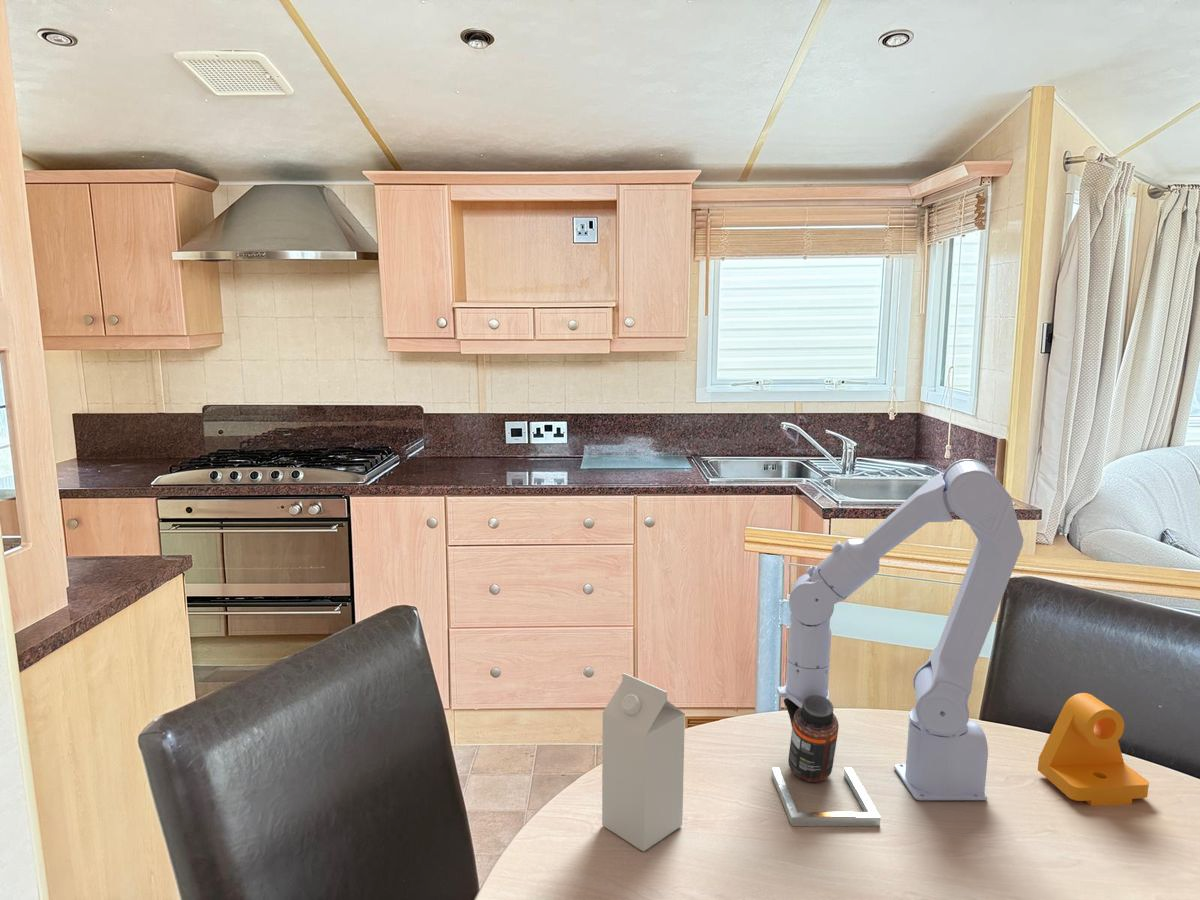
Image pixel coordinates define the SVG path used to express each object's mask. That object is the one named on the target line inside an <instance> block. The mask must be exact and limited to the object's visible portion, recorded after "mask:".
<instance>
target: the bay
mask: <svg viewBox="0 0 1200 900" xmlns="http://www.w3.org/2000/svg"><path fill="white" fill-rule="evenodd" d="M843 777H844V779H845V780H846V782H847V784H848V786H849V787H850V789H851V791H852V793H853V794H854V796H855V798H856V801H857V802H858V804H859V805H860V807H861V809H862V811H863V812H862V811H861V812H857V811H856V812H855V811H813V812H811V811H810V812H808V811H807V812H806V811H804V812H798V809H797V806H796V805H795V802H794V800H793V797H792V795H791V793H790V790H789V788H788V785H787V784H786V780H785V778H784V776H783V774H782V772H781V769H780V767H771V778H772V781H773V783H774V785H775V788H776V791H777V792H778V796H779V798H780V801H781V803H782V806H783V809H784V811H785V813H786V816H787V818H788V821H789V824H790V825H791V827H880V826H881V815H880V814H879V812H878V811H877V809H876V807H875V805H874V804H873V802H872V800H871V798H870V796H869V795H868V794H867V791H866V789H865V787H864V786H863V785H862V783H861V782H860V780H859V777H858V776H857V775H856V772H855V771H854V769H853V768H852V767H844V771H843Z"/></svg>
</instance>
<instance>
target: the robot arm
mask: <svg viewBox="0 0 1200 900" xmlns="http://www.w3.org/2000/svg"><path fill="white" fill-rule="evenodd" d="M951 513H954V514H955V515H957V516H958V517H959V518H960V519H961V520H962V521H964V522H965V523H966V524H967V525H968V526H969V527H970V529H971V531H972V532H973V534H974V535H975V537H976V539H977V542H976V544H975V546H974V550H973V552H972V555H971V558H970V560H969V563H968V565H967V568H966V570H965V573H964V576H963V578H962V581H961V583H960V587H959V589H958V592H957V594H956V597H955V599H954V601H953V605H952V607H951V609H950V611H949V615H948V617H947V621H946V623H945V626H944V628H943V630H942V632H941V636H940V638H939V641H938V643H937V646H935V647H934V648H933V650H932V651H931V652H930V654H929V657H928V659H927V660H926V662H925V663H924V664H922V665H921V666H919V667H918V669H917V670H916V671H915V673H914V676H913V683H912V684H913V689H914V691H915V700H916V701H915V705H914V707H913V708H912V709H911V710H910V711H909V715H908V730H907V731H908V732H907V741H906V743H907V744H906V759H905V763H895V764H894V765H893V768H894V771H896V773H897V774H898V776H899V777H900V779H901V780H902V782H903V783H904V784H905V786H906V788H907V789H908V791H909V792H910V793H911V795H912V796H913V798H914V799H915V800H917V801H987V800H988V795H987V794H986V792H985V791H986V780H987V779H986V778H987V769H988V757H989V748H988V741H987V737H986V734H985V732H984V730H983V728H982V726H981V724H979V722H977V721H973V720H970V709H969V705H968V703H969V698H970V695H971V693H972V688H973V681H974V671H975V666H976V664H977V662H978V659H979V656H980V654H981V651H982V649H983V647H984V645H985V641H986V639H987V636H988V634H989V632H990V630H991V626H992V624H993V621H994V619H995V616H996V615H997V611H998V609H999V607H1000V605H1001V601H1002V598H1003V596H1004V594H1005V592H1006V589H1007V586H1008V584H1009V582H1010V578H1011V576H1012V574H1013V571H1014V568H1015V566H1016V563H1017V561H1018V558H1019V557H1020V553H1021V551H1022V549H1023V544H1024V537H1023V534H1022V530H1021V527H1020V523H1019V520H1018V517H1017V513H1016V511H1015V508H1014V502H1013V499H1012V496H1011V494H1010V493H1009V492H1008V491H1007V489H1006V488H1005V487H1004V485H1002V483H1001V482H1000V481H999V479H998V478H997V476H996V475H995V474H994V472H993V471H992V469H990V468H989V466H988V465H986V464H985V463H983V462H981V461H980V460H977V459H971V458H964V459H960V460H957V461H954V462H952V463H951V464H949V466H948V467H947V468H946V469H945V471H944V472H943V474H942V472H940V473H938V474H936V475H934V476H932V477H931V478H930V479H929V480H927V482H925V483H924V484H923V485H921V487H919V488H918V489H917V490H915V492H913V494H911V495H910V496H909V497H908V498H907V499H906V500H905V501H904V502H902V503H901V505H899V506H898V507H897V508H896V509H895V510H894V511H893V512H892V513H890V514H889V515H888V516H887V517H886V518H885V519H884V520H883V521H882V522H881V523H879V525H877V526H876V527H875V528H874V529H873V530H872V531H870V532H869V534H867V535H866V536H865V537H864V538H848V539H847V540H845V541H844V542H843V543H842V542H841V541H840V540H838V541H837V542H835V543H834V544H833V545H832V548H831V550H832V552H831V553H830V554H829V555H828V556H827V557H825V558H824V559H823V560H822V561H820V562H819V563H818V564H817V565H816V566H815V567H814V566H813V565H810V566H809V567H808V568H807V569H806V573H804V574H802V575H800V576H798V578H797V579H796V580H795V581H794V584H793V586H792V588H791V592H790V595H789V601H788V606H789V607H788V608H789V611H790V618H789V621H790V625H789V627H788V638H787V639H788V641H787V661H786V663H787V664H786V665H787V666H786V680H785V685H784V686H777V689H776V690H777V692H776V693H777V694H778V697H780V698H784V699H783V702H784V705H785V708H786V710H787V713H788V717H789V720H790V724H791V726H792V725H793V718H794V714H795V712H796V711H797V709H799V708H802V705H803V701H804V699H805V698H806V697H808V696H811V695H819V696H823V697H825V698H827V699H828V700H829V701H830V690H829V684H830V683H829V682H830V680H829V679H830V667H831V665H830V664H831V649H832V648H831V647H832V646H831V645H832V630H831V617H832V616H833V614H834V610H835V604H837V603H842V602H843V601H845V600H846V599H847V598H849V597H850V596H851V595H852V594H854V593H856V591H857V590H858V589H860V588H861V587H862V586H864V584H866V583H867V582H868V581H870V580H871V579H872V578H874V577H875V575H877V574H879V571H880V559H881V558H882V557H883V556H885V555H886V554H888V552H890V551H891V550H893V549H894V548H896V547H897V546H898V545H900V544H901V543H902V542H903V541H906V539H907V538H909V537H910V536H912V535H913V534H915V533H916V532H917V531H918V530H919V529H921V528H922V527H924V525H927V524H928V523H948V522H949V523H950V522H953V520H954V519H953V517H952V515H951Z"/></svg>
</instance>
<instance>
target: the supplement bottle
mask: <svg viewBox="0 0 1200 900" xmlns="http://www.w3.org/2000/svg"><path fill="white" fill-rule="evenodd" d="M839 726H840V725H839V721H838V718H837V716H836V714H834V705H833V703H832V702H831V701H830V699H829V700H828V699H827V698H825V697H823V696H819V695H811V696H808V697H806V698H805V699H804V701H803V705H802V708H799V709H797V711H796V712H795V714H794V718H793V725H791V734H790V735H791V736H790V741H789V743H790V744H789V751H788V758H787V759H788V766H789V769H790V770H791V772H792V773H793V774H794V776H796V777H797V778H799V779H801V780H803V781H806V782H809V783H819V782H823V781H825V780H827V779H828V778H829V777H830V776H831V773H832V772H833V766H834V760H835V755H836V754H835V753H836V749H837V748H836V747H837V740H838V734H839Z"/></svg>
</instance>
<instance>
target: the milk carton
mask: <svg viewBox="0 0 1200 900" xmlns="http://www.w3.org/2000/svg"><path fill="white" fill-rule="evenodd" d="M621 675H622V676H621V678H622V679H621V682H620V684H619V685H618V687H617V689H616V690H615V692H614V693H613V695H612V696H611V698H610V700H609V702H608V704H606V706H605V708H604V710H603V711H602V752H601V753H602V758H601V759H602V760H601V761H602V763H601V764H602V768H601V769H602V775H601V776H602V777H601V781H602V782H601V783H602V786H601V787H602V788H601V791H602V794H601V795H602V797H601V798H602V799H601V806H602V807H601V814H602V815H601V823H602V826H603V827H604V828H606V829H608V830H609V831H611V833H614V834H615V835H617V836H618V837H620V838H621V839H623V840H624V841H626V842H628V843H630V844H631V845H632V846H634V847H635V848H637V849H638V850H640V851H642V852H646V851H647V850H648V849H650V848H651V847H653V846H655V845H656V844H657V843H659V842H660V841H662V840H663V839H665V838H666V837H667V836H669V835H671V834H672V833H673V832H675V831H676V830H677V829H679V828H681V827H682V826H683V813H684V812H683V811H684V810H683V809H684V807H683V806H684V805H683V804H684V771H685V770H684V763H685V761H684V759H685V756H684V755H685V725H686V724H685V723H686V721H685V719H686V718H685V717H686V714H685V713H684V712H683V711H682V710H680V709H679V708H678V707H676V706H675V705H674V704H672V703H671V702H670V701H668V691H667V690H664V689H662V688H659V687H657V686H656V685H653V684H650V683H649V682H646V681H644V680H642V679H640V678H637V677H636V676H635V677H634V676H632V675H630V674H628V673H625V672H622V674H621Z"/></svg>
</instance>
